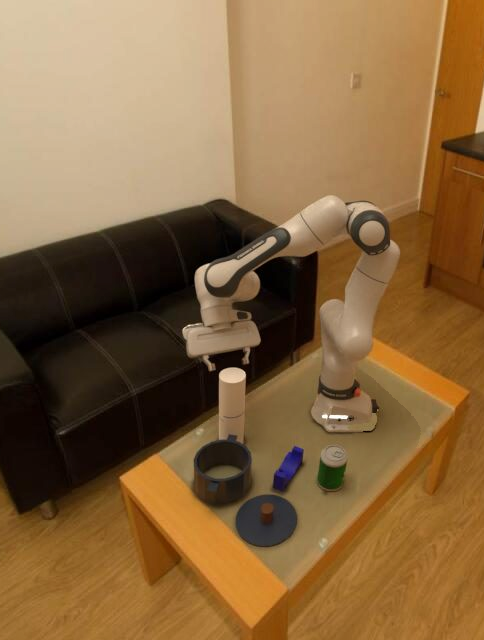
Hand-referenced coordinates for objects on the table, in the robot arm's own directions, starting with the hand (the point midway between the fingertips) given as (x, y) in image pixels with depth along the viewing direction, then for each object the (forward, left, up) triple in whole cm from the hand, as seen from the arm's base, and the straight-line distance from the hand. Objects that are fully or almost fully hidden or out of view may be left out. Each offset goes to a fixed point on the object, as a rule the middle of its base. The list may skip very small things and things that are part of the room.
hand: (229, 367), depth 138 cm
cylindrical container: (-1, +2, -26) cm, 26 cm away
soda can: (-32, +13, -26) cm, 44 cm away
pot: (-3, +18, -26) cm, 32 cm away
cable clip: (-20, +12, -26) cm, 35 cm away
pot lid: (-17, +28, -25) cm, 42 cm away
